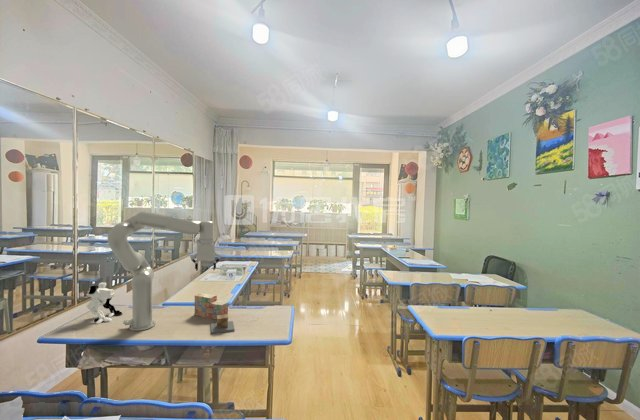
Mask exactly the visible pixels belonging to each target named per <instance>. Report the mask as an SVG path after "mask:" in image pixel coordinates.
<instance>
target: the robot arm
mask: <svg viewBox="0 0 640 420" xmlns="http://www.w3.org/2000/svg"><path fill="white" fill-rule="evenodd" d="M144 228H148V229H149V228H150V229H157V230H163V231H168V232H174V233H180V234H186V235H196V234H198V233H199V238H198V239H197V240H196V242H197V243H198V244H197V248H196V252H195V254H192V255H191V256H190V259H191V261H192V263H194V264H195V266H194V269H195V270H196V271H198V270H199V264H198V263H199V262H211V261H212V262H213V266H212V267H213V271H215V270H216V268H217V263H218V262H219V261H220V259H221V258H222V255H220V254H219V253H216V250H215V249H216V247H215V243H214V222H213V221H211V220H202V221H199V220H195V219H193V220H187V219H182V218H176V217H174V216H172V215H168V214H162V213H155V212H151V211H147V210H142V211H139V212H137V213H136V214H135V215H133V216H131V217H130V218H128V219H126V220H123V221H122V222H119V223H118V222H117V224H114V226H113V227H111V228H110V230H109V232H108V234H107V245H108V246H109V248H110V250H111V251H112V252H113V254H114V255H115V257H116V258H117V261H119V263H120V264H121V266H122V268H123V269H124V271H125V270H126V271H127V272H131V273H132V274H133V276H132V279H131V291H132V318H131V319H130V320H128V319H127V320H123V323H122V324H123V325H125V326H129V327H128V329H129V330H130V331H133V332H134V331H135V332H137V331H138V332H139V331H145V330H149V329H151V328H153V327H155V326H156V321H154V320H153V279H154V275H155V273H154V270H153V269H152V267H151V265H150V264H149V262H148V261H147V259H146V258H145V256H144V255H143V254H142V253H141V252H138V251H135V250H134V248H133V247H132V245H131V244H130V242H129V241H128V237H130V236H131V235H133V234H134V233H137V232H139V231H140V230H142V229H144ZM195 257H196V259H195ZM216 257H217V258H216Z"/></svg>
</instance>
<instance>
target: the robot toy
mask: <svg viewBox="0 0 640 420" xmlns="http://www.w3.org/2000/svg"><path fill="white" fill-rule="evenodd" d="M88 295H90V297H91V300H90V301H89V302H88V303H87V305H86V308H87V309H88V310H89V311H90V312H91V314H93V315H97V318H95V319H94V320H93V321H94V322H95V325H99V324H101V323H102V322H106V323H107V322H111V321H113V319H112V317H113V316H122V315H123V312H122V311H120V310H116V308H115V306H114V305H113V304H111V303H110V302H111V300H112V299H113V298H114V297H115V295H116V293H115V291H114V289H113V288H110V289H109V288H107V282H99V283H98V285H92V286H89V290H88ZM99 306H102V307H103V308H104V309H108V310H109V311H108V312H106V314H104V312H103V311H102V310H101V309H99Z"/></svg>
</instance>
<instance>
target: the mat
mask: <svg viewBox="0 0 640 420" xmlns="http://www.w3.org/2000/svg"><path fill="white" fill-rule="evenodd" d="M210 332H211V333H210V334H211V335H213V334H220V333H221V334H222V333H228V332H229V333H230V332H235V325H234V320H228V328H221V329H217V322H213V323H212V322H211V323H210Z"/></svg>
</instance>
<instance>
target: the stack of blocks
mask: <svg viewBox="0 0 640 420" xmlns="http://www.w3.org/2000/svg"><path fill="white" fill-rule="evenodd" d="M217 296H218V295H216V294H210V293H205V292H201V293H198V294H196V295H194V315H195V316H199V317H202V318H203V317H204V318H209V319H213V320H217V315H225V314H227V315H228V316H229V302H228V301H224V300H217V298H218V297H217Z"/></svg>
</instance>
